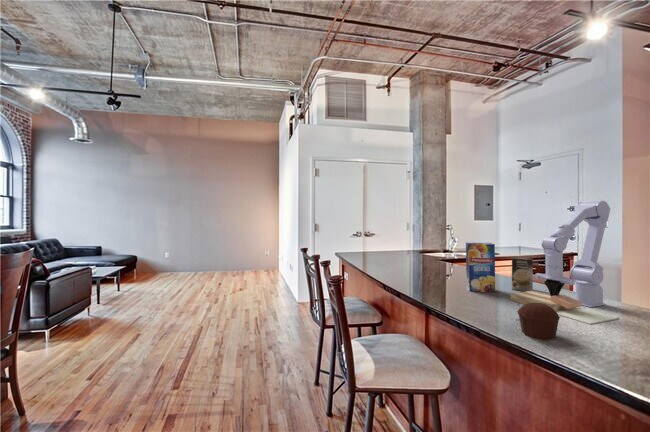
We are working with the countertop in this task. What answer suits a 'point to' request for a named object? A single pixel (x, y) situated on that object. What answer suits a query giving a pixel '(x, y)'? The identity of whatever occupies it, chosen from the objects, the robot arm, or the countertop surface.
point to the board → (536, 299)
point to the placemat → (586, 315)
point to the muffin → (538, 321)
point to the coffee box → (522, 274)
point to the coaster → (566, 301)
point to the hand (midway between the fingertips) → (554, 298)
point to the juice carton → (480, 267)
